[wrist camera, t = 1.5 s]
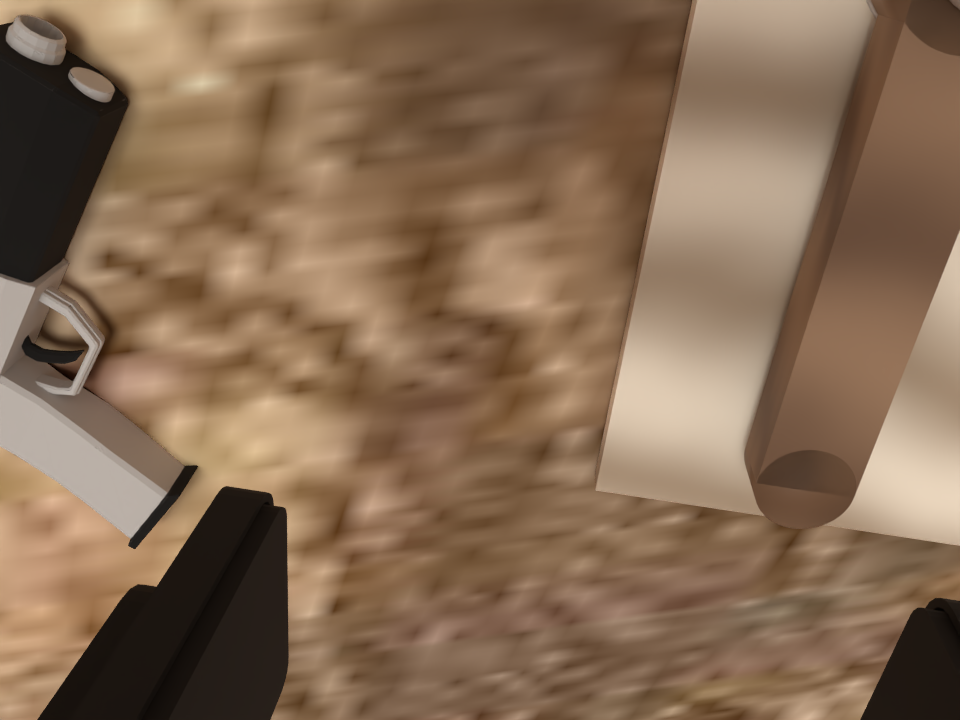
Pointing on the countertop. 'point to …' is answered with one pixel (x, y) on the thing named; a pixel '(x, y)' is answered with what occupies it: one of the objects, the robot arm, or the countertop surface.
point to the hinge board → (762, 276)
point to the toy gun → (39, 271)
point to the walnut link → (864, 269)
